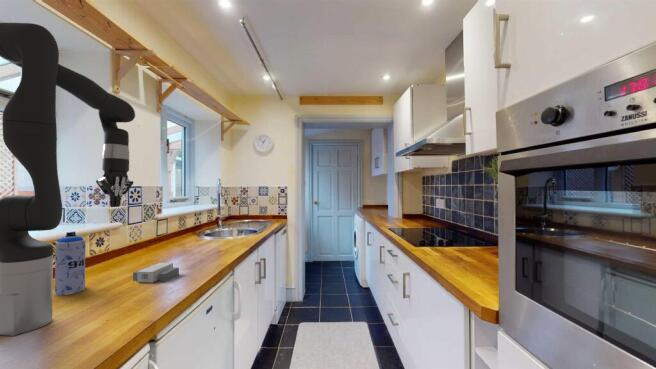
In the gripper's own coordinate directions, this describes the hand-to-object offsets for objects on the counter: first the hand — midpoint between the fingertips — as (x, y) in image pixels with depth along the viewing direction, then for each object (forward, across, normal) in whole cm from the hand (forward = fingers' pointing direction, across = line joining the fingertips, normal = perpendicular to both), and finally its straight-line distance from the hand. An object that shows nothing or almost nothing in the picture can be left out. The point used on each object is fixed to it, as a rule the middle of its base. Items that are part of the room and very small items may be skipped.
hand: (115, 206), depth 97 cm
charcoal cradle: (+28, +11, -7) cm, 31 cm away
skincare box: (+26, +5, -7) cm, 28 cm away
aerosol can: (+28, -5, +12) cm, 31 cm away
